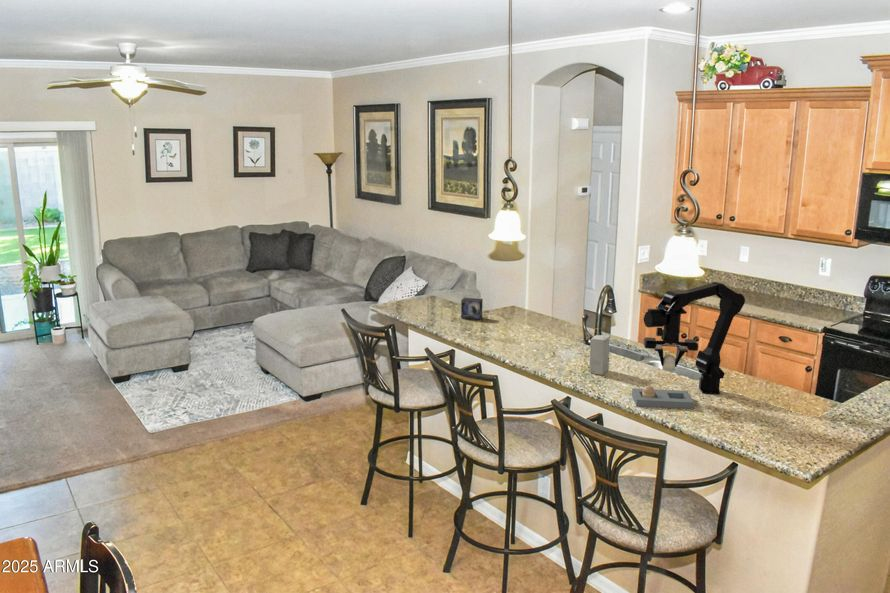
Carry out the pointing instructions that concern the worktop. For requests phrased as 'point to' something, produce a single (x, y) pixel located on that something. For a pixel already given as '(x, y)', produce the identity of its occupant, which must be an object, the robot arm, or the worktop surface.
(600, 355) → the skincare box
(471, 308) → the small box
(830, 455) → the worktop surface
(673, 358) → the egg
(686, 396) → the egg carton
